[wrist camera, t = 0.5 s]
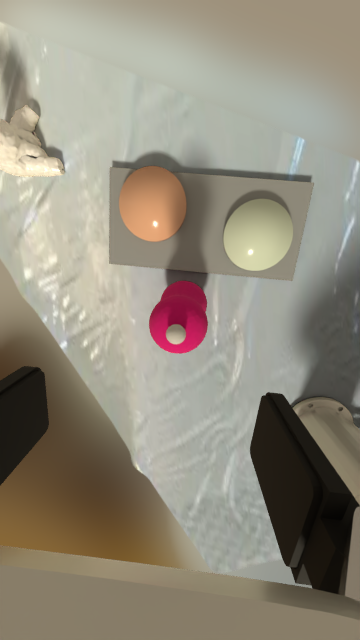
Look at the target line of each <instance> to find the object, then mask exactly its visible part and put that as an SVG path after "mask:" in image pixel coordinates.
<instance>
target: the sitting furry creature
mask: <svg viewBox="0 0 360 640" xmlns="http://www.w3.org/2000/svg"><path fill="white" fill-rule="evenodd" d="M39 118H40V117H39V116H38V115H37V114H36V113H35V112H34V111H33V110H32V109H30V108H29V107H28V106H27V105H25V106H23V108H22V109H18V110H16V111H15V114H14V116H13V117H12V118H11V121H10V123H7V121H4V120H2V119H0V170H3V171H5V172H7V173H10V174H11V175H14V176H19V177H20V176H23V177H26V176H28V177H30V176H31V177H33V176H45V177H47V176H48V177H49V176H52V177H53V176H56V175H64V174H65V171H63V169H64V166H63V164H62V162H61V161H60V159H58V158H55V157H48V156H47V154H46V153H45V151H44V150H43V149H41V148H40V147H41V143H40V142H39V141H40V140H39V139H38V138H37V136H36V134H35V132H34V130H35V125H36V124H37V122H38V119H39ZM32 131H33V133H34V135H35V136H34V135H33V134H32ZM32 156H34V157H36V158H33V157H32Z"/></svg>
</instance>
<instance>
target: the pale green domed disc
mask: <svg viewBox="0 0 360 640" xmlns="http://www.w3.org/2000/svg"><path fill="white" fill-rule="evenodd" d="M292 238H293V224H292V220H291V218H290V216H289V214H288V212H287V211H286V210H285V208H284V207H283V206H281V205H280V204H279V203H277V202H275V201H272V200H269V199H255V200H251V201H249V202H246V203H244V204H243V205H241V206H240V207H239V208H237V209H236V210H235V211H234V213H233V214H232V215H231V216H230V218H229V219H228V221H227V223H226V225H225V228H224V232H223V247H224V250H225V253H226V255H227V257H228V258H229V260H230V261H231V262H232V263H233V264H234V265H236V266H237V267H239V268H242V269H245V270H250V271H259V270H264V269H267V268H270V267H272V266H274V265H275V264H277V263H278V262H279V261H280V260H281V259H282V258H283V257H284V256H285V254H286V253H287V251H288V250H289V248H290V245H291V242H292Z"/></svg>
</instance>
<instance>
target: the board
mask: <svg viewBox="0 0 360 640" xmlns="http://www.w3.org/2000/svg"><path fill="white" fill-rule="evenodd" d="M136 170H138V169H128V168H115V167H110V230H109V264H118V265H129V266H139V267H150V268H161V269H171V270H182V271H193V272H203V273H214V274H225V275H235V276H246V277H257V278H267V279H278V280H289V281H292V280H293V276H294V271H295V267H296V262H297V258H298V253H299V249H300V244H301V240H302V235H303V231H304V226H305V222H306V217H307V213H308V208H309V204H310V199H311V195H312V190H313V186H314V183H311V182H298V181H285V180H272V179H259V178H246V177H233V176H220V175H206V174H193V173H180V172H171V173H172V174H173V175H175V176H176V178H177V179H178V180H179V182H180V183H181V185H182V187H183V189H184V192H185V196H186V204H187V210H186V216H185V220H184V222H183V224H182V226H181V228H180V229H179V230H178V232H177V233H176V234H175V235H173V236H172V237H171V238H169V239H167V240H164V241H161V242H149V241H146V240H143V239H141V238H139V237H137V236H136V235H134V234H133V233H132V232H131V231H130V230H129V229H128V228H127V227H126V225H125V223H124V222H123V219H122V217H121V214H120V209H119V197H120V192H121V189H122V186H123V184H124V183H125V181H126V179H127V178H128V177H129V176H130V175H131V174H132V173H133V172H135V171H136ZM255 199H269V200H272V201H275V202H277V203H279V204H280V205H281V206H283V207H284V208H285V210H286V211H287V212H288V214H289V216H290V218H291V220H292V224H293V238H292V242H291V245H290V248H289V250H288V251H287V253H286V254H285V256H284V257H283V258H282V259H281V260H280V261H279V262H278V263H277V264H275V265H274V266H272V267H270V268H267V269H264V270H259V271H250V270H245V269H242V268H239V267H237V266H236V265H234V264H233V263H232V262H231V261H230V260H229V258H228V257H227V255H226V253H225V250H224V247H223V232H224V228H225V225H226V223H227V221H228V219H229V218H230V216H231V215H232V214H233V213H234V211H235V210H236V209H237V208H239V207H240V206H241V205H243V204H244V203H246V202H249V201H251V200H255Z"/></svg>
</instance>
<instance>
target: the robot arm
mask: <svg viewBox="0 0 360 640" xmlns="http://www.w3.org/2000/svg"><path fill="white" fill-rule="evenodd" d="M48 425H49V421H48V409H47V399H46V386H45V376H44V373H43V372H42V371H41V369H40V368H38V367H29V366H24V367H21V368H20V369H18V370H17V371H15V372H13V373H12V374H10V375H8V376H7V377H6V378H4V379H2V380H1V381H0V485H1V484H2V483H3V482H4V481H5V479H6V478H7V477H8V476H9V475H10V474H11V472H12V471H13V470H14V469H15V468H16V466H17V465H18V464H19V463H20V462H21V461H22V459H23V458H24V457H25V456H26V455H27V454H28V452H29V451H30V450H31V449H32V448H33V447H34V445H35V444H36V443H37V442H38V441H39V440H40V438H41V437H42V436H43V435H44V434H45V432H46V430H47V429H48ZM250 454H251V458H252V462H253V465H254V468H255V471H256V474H257V478H258V481H259V484H260V487H261V491H262V494H263V497H264V500H265V503H266V507H267V510H268V513H269V516H270V520H271V523H272V526H273V529H274V532H275V536H276V539H277V542H278V545H279V548H280V552H281V555H282V558H283V561H284V563H285V564H286V566H288V567H291V570H292V574H293V577H294V580H295V583H299V584H306V585H312V588H313V589H311V588H306V587H301V586H294V585H287V584H282V583H275V582H269V581H262V580H256V579H249V578H243V577H237V576H229V575H222V574H215V573H207V572H200V571H193V570H185V569H178V568H170V567H163V566H155V565H148V564H140V563H133V562H124V561H118V560H109V559H102V558H94V557H87V556H79V555H71V554H63V553H55V552H47V551H39V550H31V549H23V548H16V547H7V546H0V640H360V429H359V428H357V427H356V426H355V425H354V423H353V418H352V415H351V413H350V412H349V410H348V409H347V408H346V407H345V406H344V405H342V404H341V403H340V402H338V401H336V400H334V399H331V398H326V397H314V398H309V399H306V400H304V401H301V402H300V403H298V404H296V405H295V406H294V407H293V408H292V407H291V405H290V404H289V403H288V401H287V400H286V398H285V397H284V395H283V394H278V393H269V392H268V393H267V394H266V396H262V397H261V401H260V406H259V410H258V415H257V419H256V423H255V428H254V432H253V437H252V441H251V446H250Z"/></svg>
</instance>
